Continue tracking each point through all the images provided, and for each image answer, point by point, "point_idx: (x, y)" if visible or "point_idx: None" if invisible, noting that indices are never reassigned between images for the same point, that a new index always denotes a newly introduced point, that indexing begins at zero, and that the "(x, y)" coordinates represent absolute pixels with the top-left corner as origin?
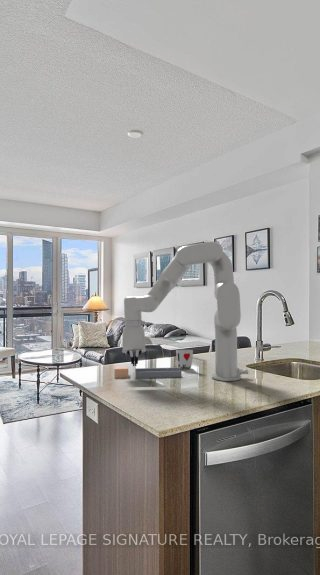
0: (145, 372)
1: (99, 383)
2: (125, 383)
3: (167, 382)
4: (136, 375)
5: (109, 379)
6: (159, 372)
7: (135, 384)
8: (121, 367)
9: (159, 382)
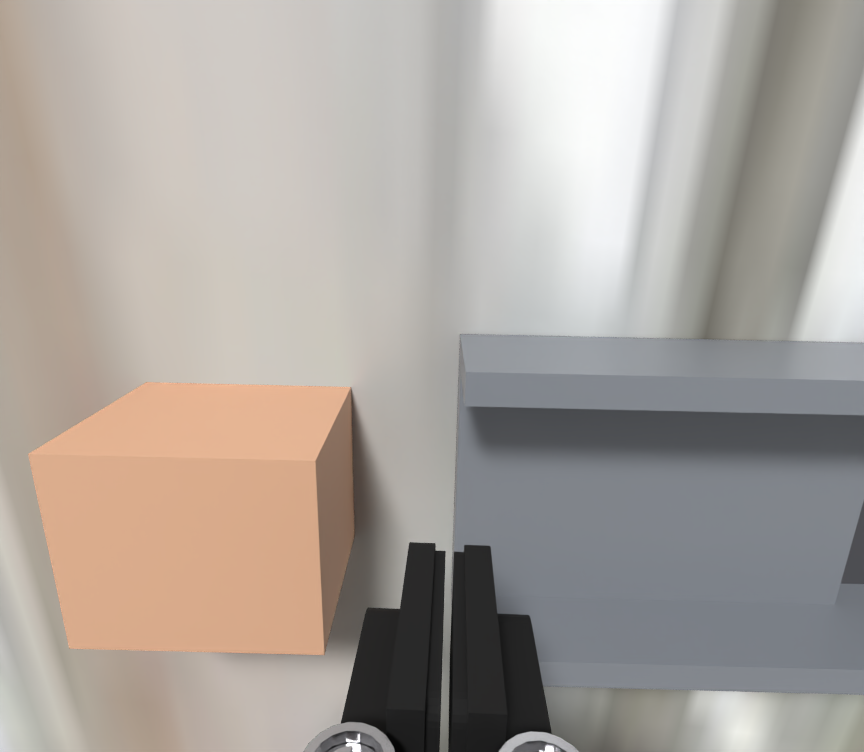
0: (615, 680)
1: (11, 655)
2: (326, 691)
3: (830, 707)
4: None
5: None
6: (839, 684)
7: (442, 743)
8: (178, 522)
9: (735, 696)
